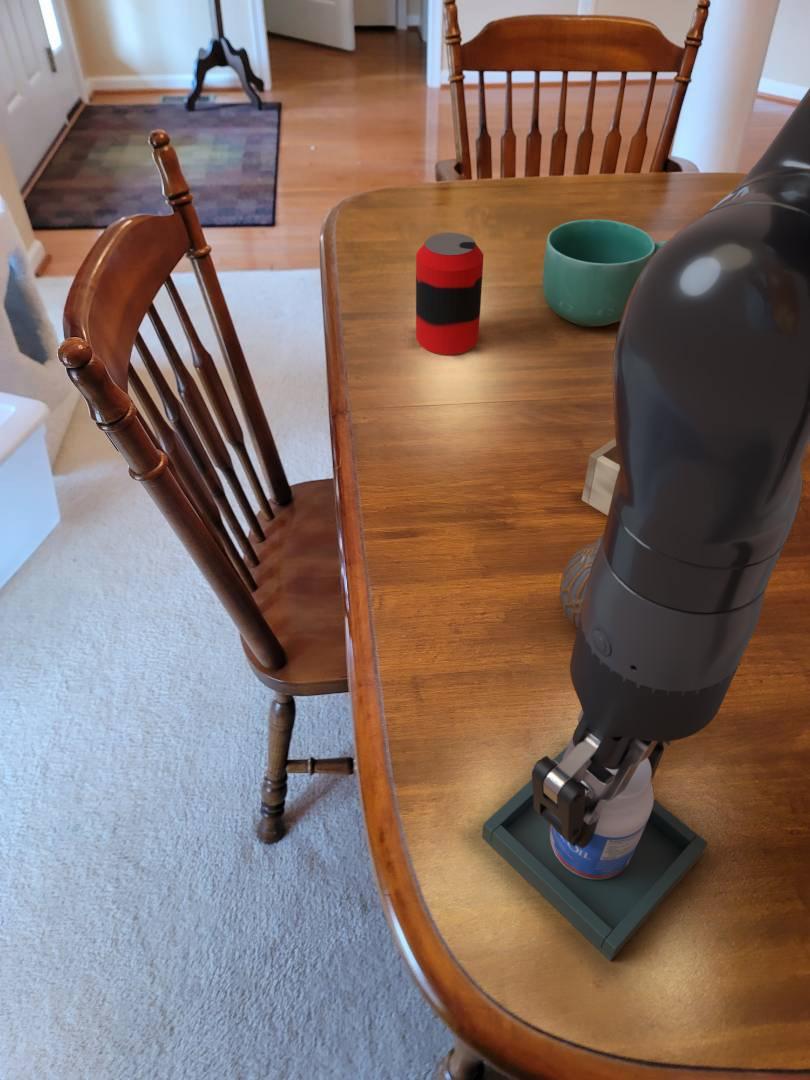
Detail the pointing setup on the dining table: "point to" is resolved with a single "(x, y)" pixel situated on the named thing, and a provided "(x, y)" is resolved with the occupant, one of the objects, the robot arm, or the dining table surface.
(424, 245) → the soda can
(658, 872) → the tray
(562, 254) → the mug
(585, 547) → the vase
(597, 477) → the crate
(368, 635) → the dining table surface
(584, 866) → the pill bottle
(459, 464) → the dining table surface
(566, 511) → the dining table surface
